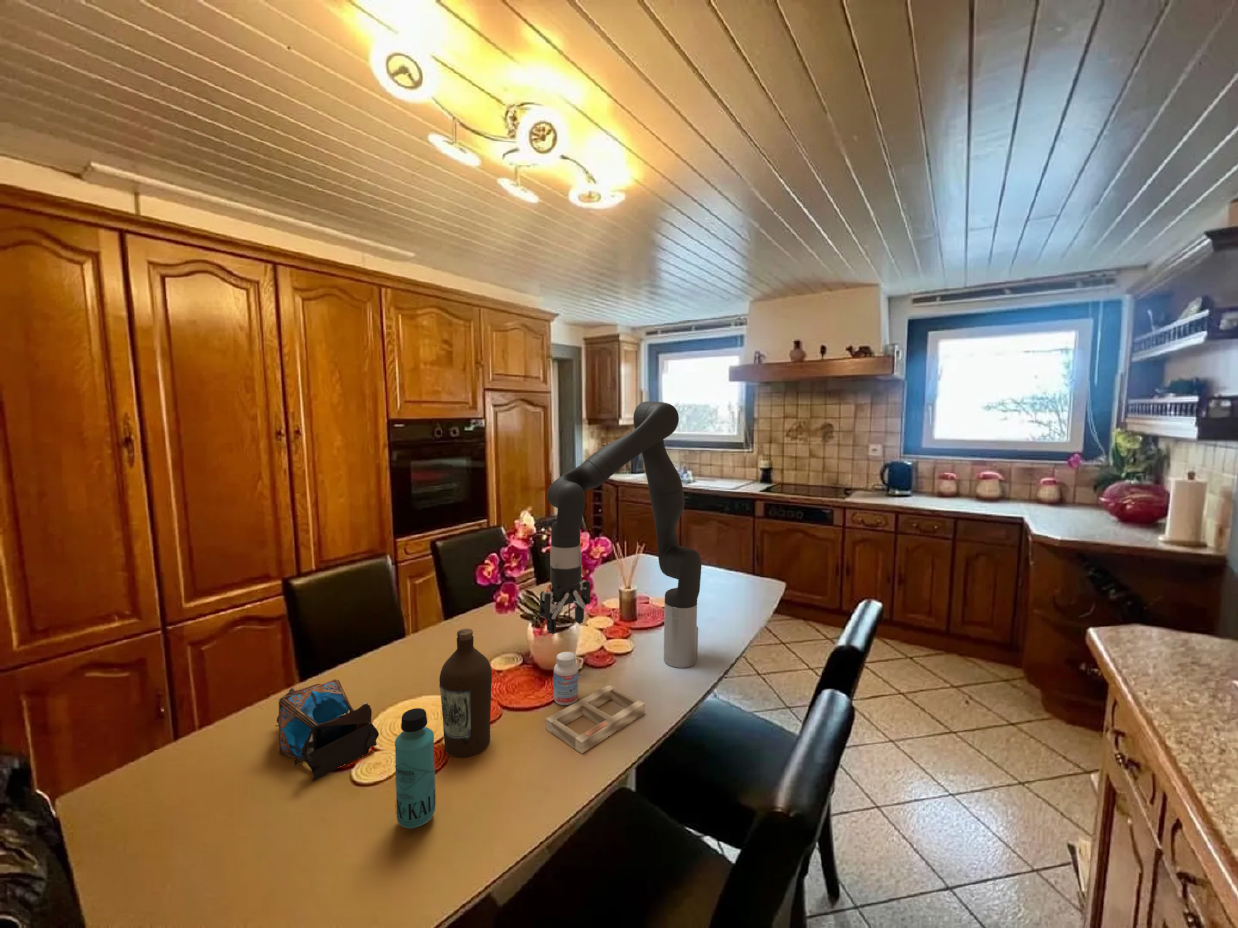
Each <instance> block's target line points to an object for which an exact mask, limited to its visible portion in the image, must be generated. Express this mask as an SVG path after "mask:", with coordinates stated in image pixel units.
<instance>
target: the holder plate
mask: <svg viewBox="0 0 1238 928" xmlns="http://www.w3.org/2000/svg"><path fill="white" fill-rule="evenodd" d="M610 700H611V701H613V702H615V703H617V704H619V705H620V706H623V707H624V708H623V709H622V710H620V711H618V712H617V713H615V714H613V715H612V716H611V715H609V714H607V713H606V712H604V711H602V710H601V709H599V708H598V707H600V706H602V705H603V704H605V703H607V702H609V701H610ZM645 705H646V703H644V702H643V701H640V700H639V699H637V698H635V697H633V696H631V695H629V694H627V693H625V692H623V691H621V690H619V689H618V688H615V687H614V686H611V685H610V684H608V685H605V686H604V687H602V688H600V689H599V690H596V691H595V692H593V693H591V694H589V695H587V696H585V697H584V698H581V699H580V700H577V701H576V702H575V703H573V704H570V705H567V707H565V708H563V709H561V710H559V711H557V712H556V713H553V714H552V715H550V716H548V717H546V718H545V729H546V730H547V731H548V732H550V733H551V734H553V735H554V736H555V737H557V738H558V739H559V740H561V741H563V742H564V743H566V744H567V745H569V746H570V747H571V748H573V749H575V750H576V751H577V752H578V753H580V754H583V753H586V752H587V751H588V750H590V749H591V748H593V747H595V746H596V745H598V744H599V743H601V742H602V741H605V740H606V739H607V738H609V737H610V736H612V735H613V734H615V733H616V731H617V730H618V731H620V730H622V729H623V728H625V727H626V726H628V725H629V724H631V723H633V722H634V721H636V720H637V719H638V717H639V716H640V717H642V716H643V715H645V714H646V713H645V712H646V711H645V709H646V708H645V707H646V706H645ZM644 713H645V714H644ZM642 714H643V715H642ZM641 715H642V716H641ZM582 716H583V718H584V717H585V718H586V719H588V720H589V721H591V722H592V723H594V724H596V725H595V726H594V727H592V728H590V729H588V730H586V731H585V732H583V733H580V734H578V733H577V732H575V731H574V730H573V729H570V728H569V727H568V726H567V725H568V724H570V723H572V722H573V721H576V720H577V719H578V718H579V719H580V718H581V717H582ZM640 717H639V718H640ZM636 718H637V719H636ZM633 720H634V721H633ZM627 724H628V725H627ZM625 725H626V726H625ZM622 727H623V728H622ZM618 731H617V732H618ZM614 732H615V733H614ZM608 736H609V737H608Z"/></svg>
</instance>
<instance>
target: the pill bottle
mask: <svg viewBox="0 0 1238 928" xmlns="http://www.w3.org/2000/svg"><path fill="white" fill-rule="evenodd" d="M576 659H577V658H576V654H575V652H572V651H563V652H562V651H561V652H560V653H558V654H557V655H556V664H555V665H554V667H553V700H554V701H555V703H556V704H558V705H560V706H570V705H572V704H574V703H576V702H578V699H579V666H578V664H577V663H576Z"/></svg>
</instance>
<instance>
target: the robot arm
mask: <svg viewBox="0 0 1238 928" xmlns="http://www.w3.org/2000/svg"><path fill="white" fill-rule="evenodd" d="M632 419H633V420H632V421H633V427H634V429H633V430H632V431H630V432H628V434H626V435H624V436H622V437H620V438H617V439H616V440H614V441H612V442H609V443H608V444H606V445H605V446H604V445H603V446H602V447H601V448H599V449H598V450H597V451H595V452H594V453H592V455H590V456H589V457H588V458H587V459H586V460H584V461H583V462H582V463H581V464H580V465H578V466H577V467H575V468H573V469H571V470H569V471H568V472H566V473H564V474H563V475H561V476H560V477H558V478H557V479H555V480H554V481H552V483H551V484H550V485H549V487H548V489H547V492H546V498H547V501H548V502H549V504H550V505H551V506H553V507H554V508H556V509H557V513H556V514H557V516H556V520H555V521H553V522H552V524H551V528H550V532H551V533H550V542H551V543H550V544H551V545H550V551H549V552H550V553H549V560H550V561H549V571H550V572H549V575H550V576H549V580H550V583H551V589H550V590H549V591H543V590H541V592H540V593H539V595H540V596H539V617H542V618H544V619H546V630H547V632H549V634H552V635H554V634H557V618H556V617H557V615H558V613H559V612H561V611H562V609H563V607H565V606H567V605H569V604H574V605H575V606H574V621H575V623H577V624H583V622H584V618H585V607H586V606H587V605H590V604H591V601H592V600H591V583H590V581H588V580H585V579H582V549H581V526H582V522H583V518H584V512H585V509H586V508H585V507H586V495H585V493H586V491H588V490H590V489H592V490H594V489H597V488H598V487H600V486H602V485H603V484H604V483H605V482H606V481H607V480H608V479H610V478H611V477H612V476H613V475H614V474H615V473H616V472H618V471H619V470H621V468H623V467H624V466H625V465H627V464H628V463H629V462H631V461H632V460H634V459H635V458H636V457H637V456H639V455H642V459H643V460H642V461H643V465H644V469H645V475H646V480H647V487H648V493H649V497H650V498H649V499H650V504H651V508H652V514H653V518H654V519H653V520H654V526H655V532H656V534H655V535H656V543H657V547H656V548H657V556H658V564H659V568H660V571H661V572H662V573H663V575H664V576H666V577H670V578H672V579H676V580H677V582H678V583H677V587H674V588H669V589H668V590H666V591H665V594H664V611H663V612H664V623H663V627H664V628H663V629H664V630H663V661H664V663H666V664H667V665H668V666H670V667H674V668H679V669H680V668H681V669H682V668H683V669H685V668H690V667H692V666H694V665H695V664H696V663H697V662H696V661H697V659H698V653H699V648H698V647H699V627H698V626H697V625H698V597H699V596H700V595H699V594H700V590H701V580H702V579H701V578H702V558H701V554H700V553H699V552H698V551H697V550H695V549H693V548H689V547H684V546H681V545H680V544H679V541H678V535H677V526H678V523H679V521H680V518H681V516H682V514H683V511H684V509H685V504H686V503H685V502H686V501H685V494H684V493H685V492H684V487H683V481H682V479H681V476H680V473H679V472H678V470H677V468H676V466H675V465H674V463H673V461H672V460H671V458H670V456H669V454H668V453H667V450H666V445H665V439H666V438H668V437H669V436H671V435H672V434H674V432H675V431H676V430H677V428H678V426H679V421H680V415H679V412H678V409H677V408H676V407H675V406H674V405H672V404H670V403H668V402H663V401H662V402H661V401H648V400H647V401H642V402H640V403H639V404H638V405H637V406H636V407H635V409H634V412H633V417H632ZM579 593H580V594H579ZM556 604H557V605H556Z"/></svg>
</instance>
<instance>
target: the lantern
mask: <svg viewBox="0 0 1238 928" xmlns="http://www.w3.org/2000/svg"><path fill="white" fill-rule="evenodd" d="M288 690H289V691H288V692H287V693H286V694H284V695H283V696H281V698H279V699H278V715H277V718H276V723H277V725H276V727H278V754H280V755H281V756H286V757H288V758H293V759H294V764H293V766H292V767H293V768H295V767H296V765H297V762H299V761H302V762H304V763H306V764H307V766H308V767H309V769H310V770H311V773H312V782H315V781H317V780H319V779H321V778H323V777H324V776H326V775H328V774H330V773H332V772H334V771H337V770H338V769H339V768H338V767H340V766H342V767H344V766H345V765H344V764H346V765H348V764H350V763H351V762H350V761H352V762H354V761H356V760H358V759H360V758H362V757H363V756H362V755H364V754H366V755H367V753H368V754H369V752H370V749H371V747H376V746H377V745H378V744H377V740H378V738H379V736H380V733H379V731H378V729H377V728H376V726H375V725H374V724H373V723H372V717H373V715H372V713H373V711H372V708H371V705H369V703H368V702H364V703H363V704H361V706H360V707H359V708H357V709H355V710H354V708H353V707H352V705H351V703H350V701H349V699H348V696H347V695H346V693H345V691H344V688H343V686H342V684H341V681H340V680H339V679H336V678H335V679H331V680H329V681H326V682H323V683H315V684H311V685H310V686H306V687H303V688H299V689H297V690H295V689H294V688H293V687H291V688H290V689H288ZM361 756H362V757H361ZM364 756H365V755H364ZM359 757H360V758H359ZM357 758H358V759H357ZM353 760H354V761H353ZM349 762H350V763H349ZM347 763H348V764H347ZM343 765H344V766H343ZM337 768H338V769H337ZM340 768H341V767H340Z"/></svg>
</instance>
